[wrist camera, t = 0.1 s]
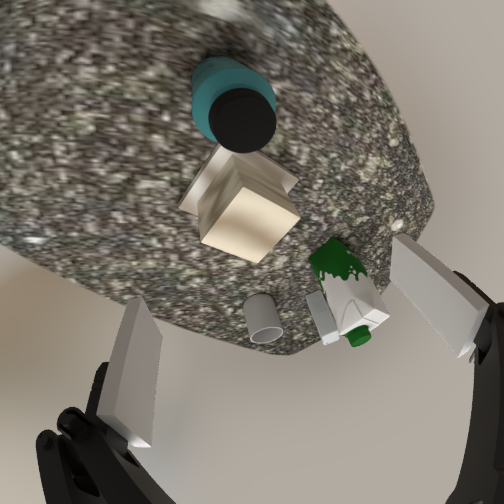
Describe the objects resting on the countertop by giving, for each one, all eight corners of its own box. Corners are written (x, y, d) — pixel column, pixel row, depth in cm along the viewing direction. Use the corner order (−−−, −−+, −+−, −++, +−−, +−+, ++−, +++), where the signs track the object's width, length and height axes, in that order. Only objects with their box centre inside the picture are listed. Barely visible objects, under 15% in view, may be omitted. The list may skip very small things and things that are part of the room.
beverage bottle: (249, 61, 28) (317, 93, 14) (232, 107, 32) (276, 183, 18) (198, 48, 25) (209, 58, 11) (183, 96, 29) (178, 164, 16)
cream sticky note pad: (226, 132, 34) (239, 164, 27) (295, 174, 41) (321, 213, 34) (178, 202, 40) (179, 247, 33) (246, 231, 47) (259, 275, 41)
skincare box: (323, 300, 69) (340, 339, 61) (308, 306, 70) (323, 346, 62) (320, 288, 65) (338, 330, 57) (304, 295, 66) (321, 337, 57)
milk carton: (301, 260, 56) (338, 346, 42) (334, 230, 52) (382, 316, 38) (326, 272, 61) (361, 349, 47) (355, 247, 57) (400, 323, 43)
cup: (261, 288, 60) (271, 323, 54) (284, 304, 67) (294, 335, 60) (236, 304, 62) (243, 338, 56) (260, 317, 69) (268, 348, 63)
